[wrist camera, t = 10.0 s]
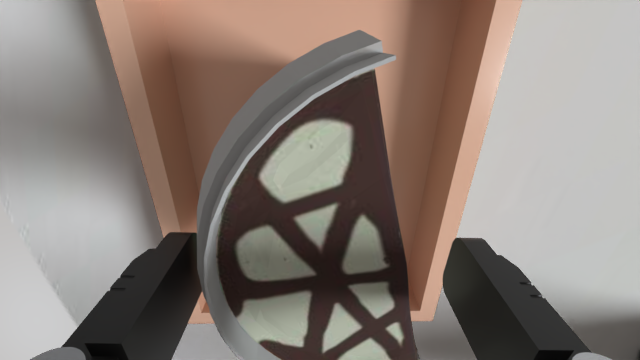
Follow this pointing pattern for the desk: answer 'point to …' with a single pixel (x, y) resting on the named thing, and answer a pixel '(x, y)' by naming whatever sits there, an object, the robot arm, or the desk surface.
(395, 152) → the terracotta dish
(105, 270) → the desk surface
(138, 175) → the desk surface
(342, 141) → the food container
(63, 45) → the desk surface
